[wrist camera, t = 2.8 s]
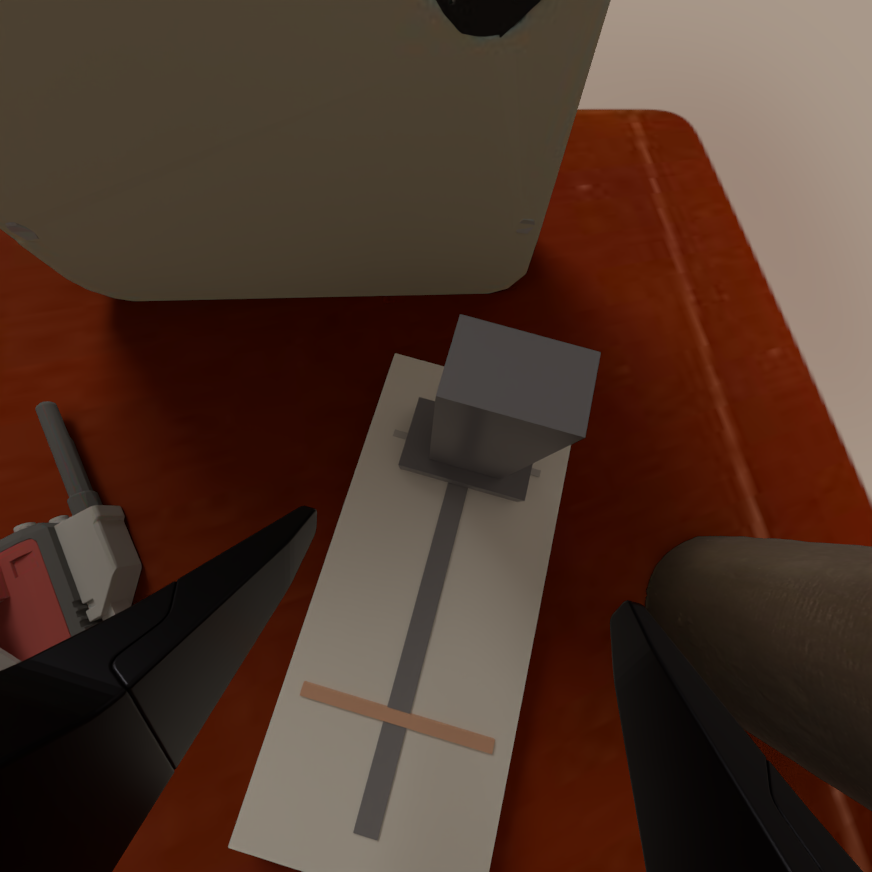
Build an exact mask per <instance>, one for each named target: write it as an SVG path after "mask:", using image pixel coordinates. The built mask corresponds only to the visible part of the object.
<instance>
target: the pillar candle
mask: <svg viewBox="0 0 872 872" xmlns="http://www.w3.org/2000/svg"><path fill="white" fill-rule="evenodd" d="M646 592H647V597H646V607H645V608H646V609H647V611H648V612H649V613H650V614H651V616H652V617H653V618H654V619H655V620H656V622H657V623H658V624H659V625H660V627H661V628H662V629H663V630H664V632H665V633H666V634H667V635H668V637H669V638H670V639H671V640H672V642H673V643H674V644H675V645H676V646H677V648H678V649H679V650H680V651H681V653H682V654H683V655H684V656H685V658H686V659H687V660H688V661H689V663H690V664H691V665H692V666H693V667H694V669H695V670H696V671H697V672H698V674H699V675H700V676H701V677H702V679H703V680H704V681H705V682H706V684H707V685H708V686H709V687H710V689H711V690H712V691H713V692H714V693H715V695H716V696H717V697H718V698H719V700H720V701H721V702H722V703H723V705H724V706H725V707H726V708H727V710H728V711H729V712H730V713H731V714H732V716H733V717H734V718H735V719H736V721H737V722H738V723H739V724H740V726H741V727H742V728H743V729H745V730H746V731H748V732H749V733H751V734H752V735H754V736H755V737H757V738H758V739H760V740H762V741H763V742H765V743H766V744H768V745H769V746H771V747H773V748H774V749H776V750H777V751H779V752H780V753H782V754H784V755H785V756H786V757H788V758H790V759H791V760H793V761H794V762H796V763H797V764H799V765H800V766H802V767H803V768H805V769H806V770H808V771H809V772H811V773H812V774H814V775H815V776H817V777H818V778H820V779H821V780H823V781H825V782H827V783H828V784H830V785H831V786H833V787H835V788H836V789H838V790H840V791H841V792H843V793H844V794H846V795H847V796H849V797H850V798H852V799H854V800H855V801H857V802H858V803H860V804H862V805H863V806H865V807H866V808H868V809H869V810H871V811H872V547H869V546H860V545H843V544H830V543H814V542H803V541H796V540H784V539H771V538H767V539H763V538H751V537H743V536H738V537H730V536H703V537H701V536H698V537H694V538H693V539H691V540H688V541H685V542H683V543H681V544H680V545H678V546H677V547H675V548H673V549H672V550H671V551H669V552H668V553H667V554H666V555H665V556H664V557H663V558H662V559H661V561H659V563H658V564H657V566H656V567H655V569H654V572H653V574H652V575H651V578H650V581H649V585H648V589H647V591H646Z"/></svg>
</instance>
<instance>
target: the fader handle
mask: <svg viewBox="0 0 872 872" xmlns="http://www.w3.org/2000/svg"><path fill="white" fill-rule="evenodd" d="M600 354H601V352H598V351H595V350H591V349H587V348H584V347H580V346H576V345H572V344H569V343H565V342H561V341H558V340H554V339H550V338H547V337H543V336H539V335H536V334H532V333H528V332H525V331H521V330H517V329H514V328H510V327H506V326H502V325H499V324H495V323H491V322H488V321H484V320H480V319H477V318H473V317H469V316H466V315H462V314H460V316H459V319H458V323H457V326H456V329H455V333H454V336H453V339H452V343H451V346H450V349H449V353H448V356H447V360H446V363H445V366H444V370H443V373H442V376H441V380H440V383H439V386H438V390H437V393H436V398H435V401H432V400H428V399H425V398H421V397H419V399H418V402H417V406H416V409H415V412H414V415H413V419H412V422H411V425H410V428H409V431H408V435H407V438H406V441H405V444H404V448H403V451H402V454H401V457H400V461H399V464H398V465H399V468H400V469H403V470H407V471H410V472H414V473H417V474H421V475H424V476H428V477H431V478H435V479H438V480H442V481H445V482H449V483H452V484H456V485H459V486H463V487H466V488H470V489H473V490H477V491H480V492H484V493H487V494H491V495H494V496H498V497H501V498H505V499H508V500H512V501H515V502H521V501H525V497H526V493H527V488H528V484H529V479H530V474H531V470H532V465H533V463H535V462H537V461H539V460H541V459H543V458H545V457H547V456H549V455H551V454H553V453H555V452H557V451H559V450H561V449H563V448H565V447H567V446H569V445H571V444H573V443H575V442H577V441H579V440H581V439H583V438H585V436H586V431H587V425H588V420H589V414H590V409H591V403H592V398H593V392H594V387H595V381H596V376H597V371H598V365H599V360H600Z"/></svg>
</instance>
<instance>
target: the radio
mask: <svg viewBox="0 0 872 872" xmlns="http://www.w3.org/2000/svg"><path fill="white" fill-rule="evenodd" d="M609 3H610V0H0V229H1V230H3V231H4V232H6V233H7V234H8V235H10V236H11V237H12V238H14V239H15V240H16V241H17V242H18V243H19V244H20V245H21V246H23V247H24V248H25V249H27V250H28V251H30V252H31V253H32V254H34V255H35V256H36V257H38V258H39V259H40V260H42V261H43V262H44V263H46V264H47V265H49V266H50V267H51V268H53V269H54V270H55V271H57V272H58V273H59V274H61V275H62V276H64V277H65V278H66V279H68V280H70V281H72V282H74V283H76V284H78V285H80V286H82V287H84V288H86V289H88V290H90V291H94V292H97V293H100V294H103V295H106V296H109V297H112V298H116V299H123V300H129V301H168V300H214V299H260V298H306V297H352V296H398V295H445V294H489V293H493V292H497V291H500V290H504V289H508V288H509V287H510V286H511V285H513V284H514V283H515V282H516V281H518V280H519V279H520V278H521V277H522V276H524V275H525V274H526V273H527V270H528V267H529V264H530V261H531V258H532V255H533V252H534V249H535V246H536V243H537V240H538V237H539V234H540V230H541V227H542V224H543V220H544V217H545V214H546V211H547V207H548V204H549V201H550V197H551V194H552V191H553V187H554V184H555V181H556V178H557V174H558V171H559V168H560V164H561V161H562V158H563V155H564V151H565V148H566V145H567V141H568V138H569V135H570V132H571V128H572V125H573V122H574V118H575V115H576V112H577V108H578V105H579V102H580V99H581V95H582V92H583V89H584V85H585V82H586V79H587V76H588V72H589V69H590V66H591V62H592V59H593V56H594V52H595V49H596V46H597V43H598V39H599V36H600V32H601V29H602V26H603V23H604V19H605V16H606V13H607V10H608V6H609Z"/></svg>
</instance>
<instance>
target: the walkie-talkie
mask: <svg viewBox="0 0 872 872" xmlns="http://www.w3.org/2000/svg"><path fill="white" fill-rule="evenodd" d="M36 412H37V415H38V418H39V420H40V423H41V425H42V428H43V431H44V433H45V436H46V438H47V441H48V443H49V446H50V449H51V451H52V454H53V456H54V459H55V462H56V464H57V467H58V469H59V472H60V475H61V477H62V480H63V482H64V485H65V487H66V490H67V493H68V495H69V499H68V500H67V502H68V505H69V508H70V510H71V513H72V515H73V516H72V517H70V518H69V516H68V515H63V516H58V517H55V518H53V519H51V520H50V521H49V523H37V524H36V523H35V522H29V523H24V524H21V525H18V526H16V527H15V528H14V532H15V533H13V534H11V535H9V536H7V537H5V538H3V539H1V540H0V671H1V670H3V669H6V668H8V667H10V666H13V665H15V664H17V663H19V662H21V661H24V660H26V659H28V658H30V657H32V656H34V655H36V654H38V653H40V652H42V651H44V650H46V649H48V648H50V647H52V646H54V645H56V644H58V643H60V642H62V641H64V640H66V639H68V638H70V637H72V636H74V635H76V634H78V633H80V632H82V631H84V630H86V629H88V628H90V627H92V626H94V625H96V624H98V623H100V622H102V621H104V620H106V619H107V618H109V617H111V616H113V615H115V614H117V613H119V612H121V611H123V610H125V609H127V608H129V607H130V606H131V605H132V601H133V598H134V594H135V590H136V587H137V583H138V580H139V576H140V572H141V569H142V565H141V562H140V559H139V557H138V554H137V552H136V550H135V547H134V545H133V542H132V540H131V537H130V535H129V532H128V530H127V528H126V525H125V523H124V518H125V515H124V513H123V511H122V508H121V506H108V505H102V502H101V500H100V497H99V495H98V492H95V491H93V489H92V486H91V484H90V481H89V479H88V476H87V474H86V471H85V469H84V466H83V464H82V461H81V459H80V456H79V454H78V451H77V449H76V446H75V444H74V441H73V439H72V438H71V437H70V436H69V434H68V432H67V429H66V427H65V424H64V422H63V419H62V417H61V415H60V412H59V410H58V407H57V405H56V404H55V403H53V402H49V401H48V402H42V403H40V404H39V405H37V406H36Z"/></svg>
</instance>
